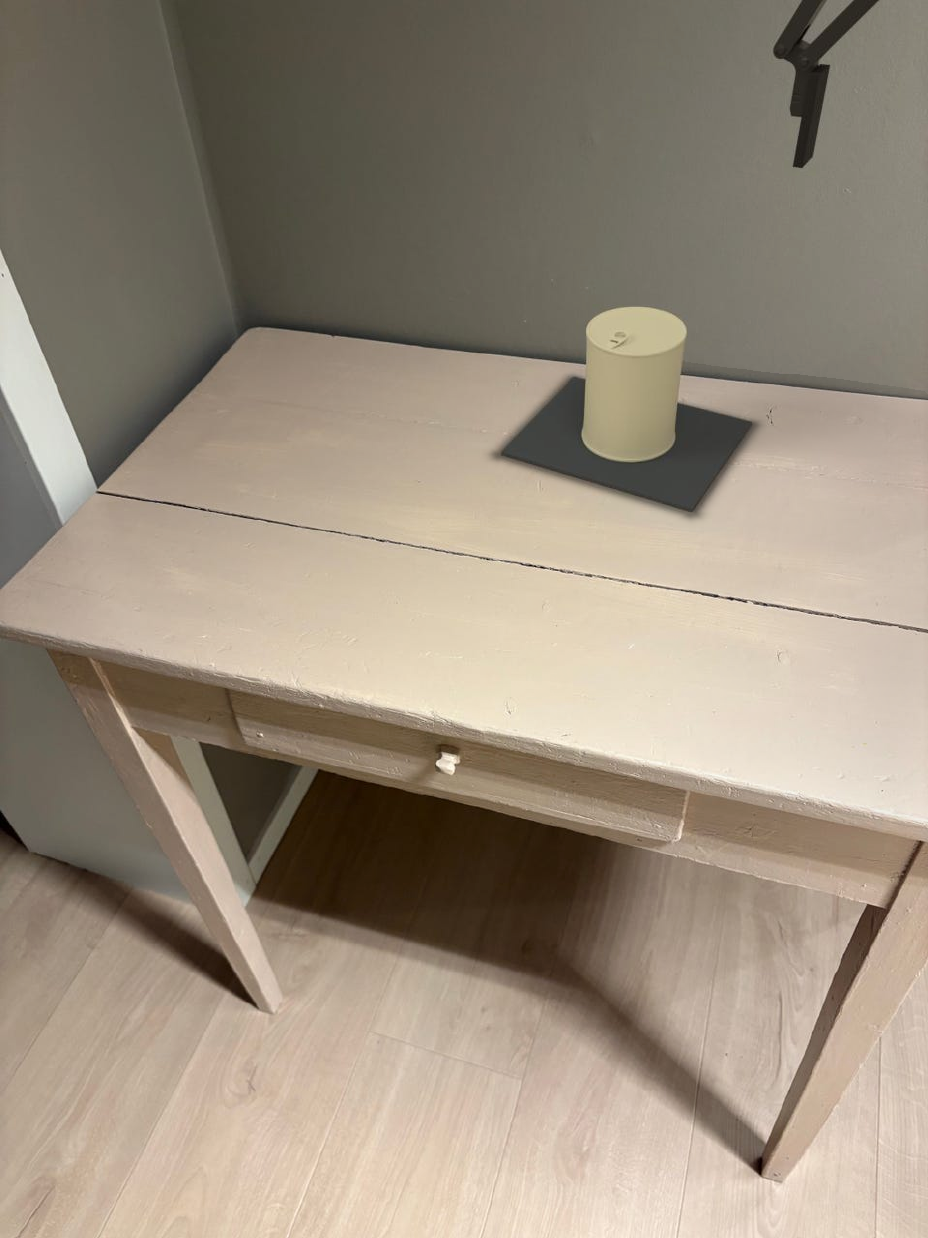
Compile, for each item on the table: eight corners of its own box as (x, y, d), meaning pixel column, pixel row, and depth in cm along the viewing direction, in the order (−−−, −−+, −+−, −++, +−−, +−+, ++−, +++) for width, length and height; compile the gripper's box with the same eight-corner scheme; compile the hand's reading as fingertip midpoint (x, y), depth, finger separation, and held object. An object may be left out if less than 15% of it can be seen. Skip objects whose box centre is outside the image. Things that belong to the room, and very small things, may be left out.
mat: (752, 424, 97) (752, 421, 96) (692, 512, 87) (692, 508, 87) (573, 379, 105) (573, 376, 104) (501, 454, 95) (500, 451, 95)
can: (562, 440, 96) (565, 329, 87) (617, 401, 100) (625, 292, 92) (639, 474, 91) (649, 360, 83) (693, 431, 96) (708, 319, 87)
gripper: (759, -185, 60) (715, 167, 75) (1224, -188, 50) (1068, 218, 65) (797, -198, 65) (748, 137, 80) (1230, -204, 55) (1083, 180, 70)
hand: (892, 174), depth 72 cm, fingers open, 13 cm apart
